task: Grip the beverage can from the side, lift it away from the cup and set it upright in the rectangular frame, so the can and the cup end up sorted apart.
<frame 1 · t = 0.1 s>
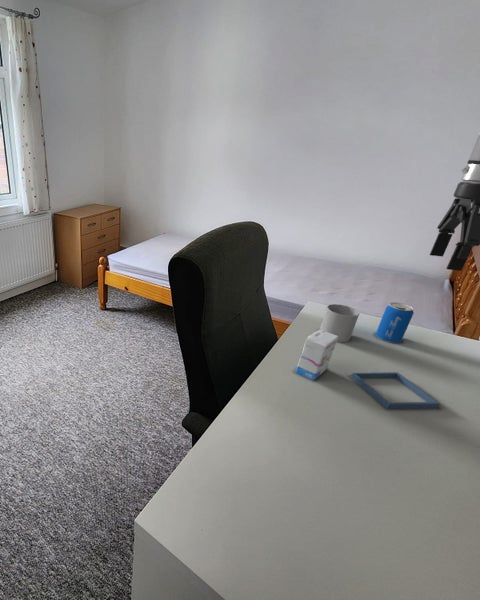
hand: (444, 262, 94), 28 cm above the table, tool pointing down, fingers open, 13 cm apart
beverage can: (387, 339, 110), on the table
rectangular frame: (390, 393, 87), on the table
ink box: (310, 373, 96), on the table
cup: (333, 337, 113), on the table
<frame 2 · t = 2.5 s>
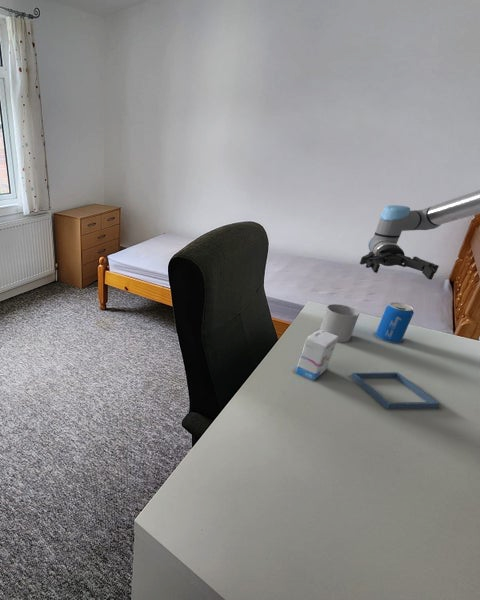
hand: (403, 272, 109), 20 cm above the table, tool horizontal, fingers open, 13 cm apart
nothing on the table moved.
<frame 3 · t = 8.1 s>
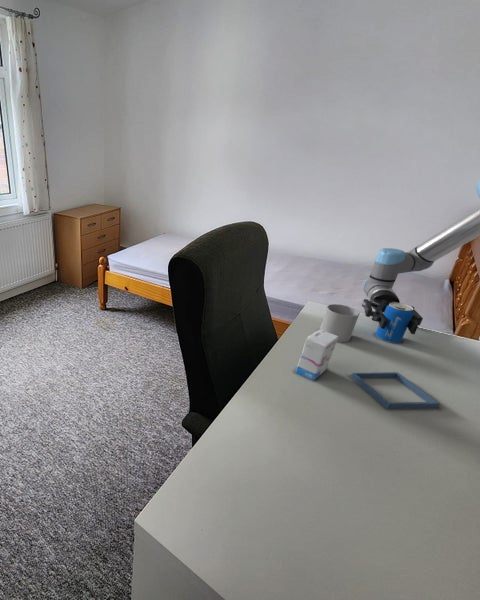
hand: (399, 327, 103), 7 cm above the table, tool horizontal, fingers closed on beverage can, 6 cm apart
beverage can: (387, 339, 110), on the table, touching gripper
everything else where it was.
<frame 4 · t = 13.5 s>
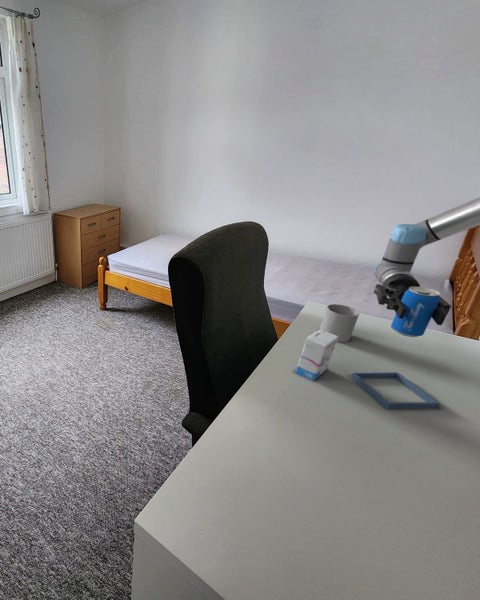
hand: (421, 316, 83), 20 cm above the table, tool horizontal, fingers closed on beverage can, 6 cm apart
beverage can: (405, 332, 90), point 13 cm above the table, touching gripper
everything else where it was.
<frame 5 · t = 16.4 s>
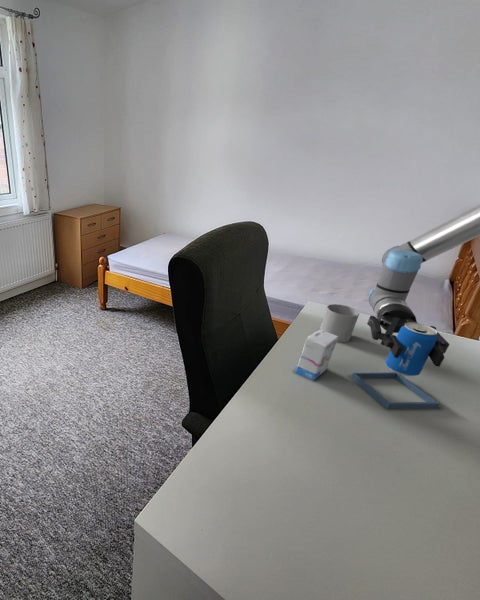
hand: (418, 357, 77), 14 cm above the table, tool horizontal, fingers closed on beverage can, 6 cm apart
beverage can: (400, 370, 84), point 7 cm above the table, touching gripper
everything else where it was.
when the fingers open (7 cm above the table, at t = 18.7 s): beverage can stays where it is, resting on rectangular frame.
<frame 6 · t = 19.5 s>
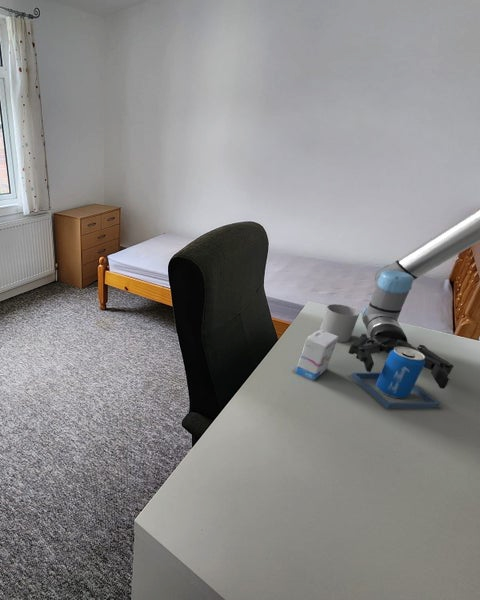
hand: (406, 375, 81), 8 cm above the table, tool horizontal, fingers open, 13 cm apart
beverage can: (390, 392, 87), resting on rectangular frame
everything else where it was.
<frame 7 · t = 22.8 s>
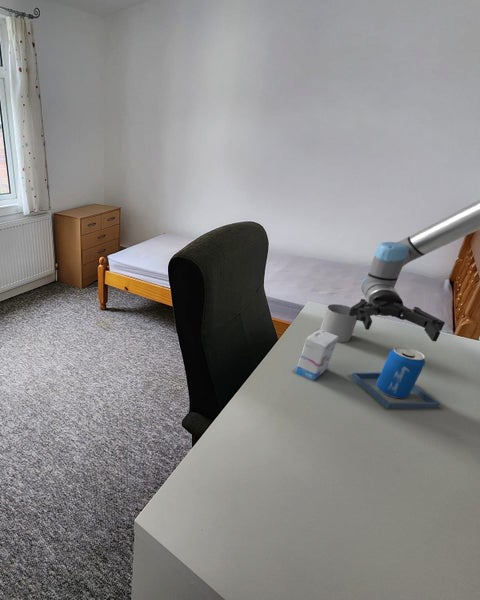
hand: (401, 330, 89), 14 cm above the table, tool horizontal, fingers open, 13 cm apart
nothing on the table moved.
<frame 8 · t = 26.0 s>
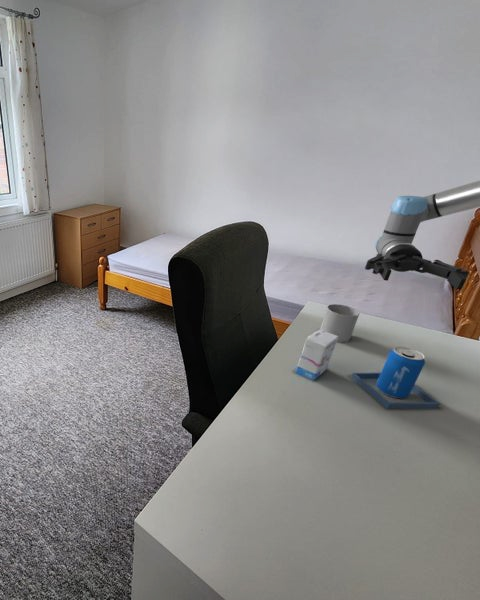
hand: (423, 279, 83), 28 cm above the table, tool horizontal, fingers open, 13 cm apart
nothing on the table moved.
at the end: beverage can inside the target area in the rectangular frame (0.0 cm from its centre), point 0.2 cm above the rectangular frame's base; beverage can tilted 0°; cup moved 0.2 cm from its start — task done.
